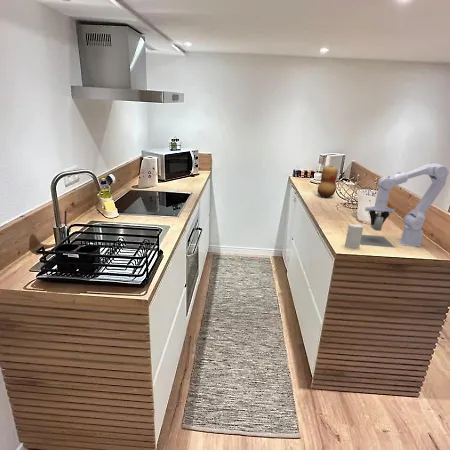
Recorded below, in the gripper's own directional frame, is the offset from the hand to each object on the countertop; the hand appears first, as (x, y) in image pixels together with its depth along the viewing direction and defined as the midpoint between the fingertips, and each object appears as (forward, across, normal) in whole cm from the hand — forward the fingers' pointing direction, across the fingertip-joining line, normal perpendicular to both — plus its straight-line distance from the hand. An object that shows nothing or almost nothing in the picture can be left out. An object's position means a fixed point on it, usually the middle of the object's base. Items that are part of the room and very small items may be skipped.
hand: (376, 224), depth 186 cm
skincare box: (+10, +15, +12) cm, 22 cm away
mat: (+9, 0, 0) cm, 9 cm away
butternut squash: (+10, +4, -94) cm, 94 cm away
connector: (+2, 0, 0) cm, 2 cm away
